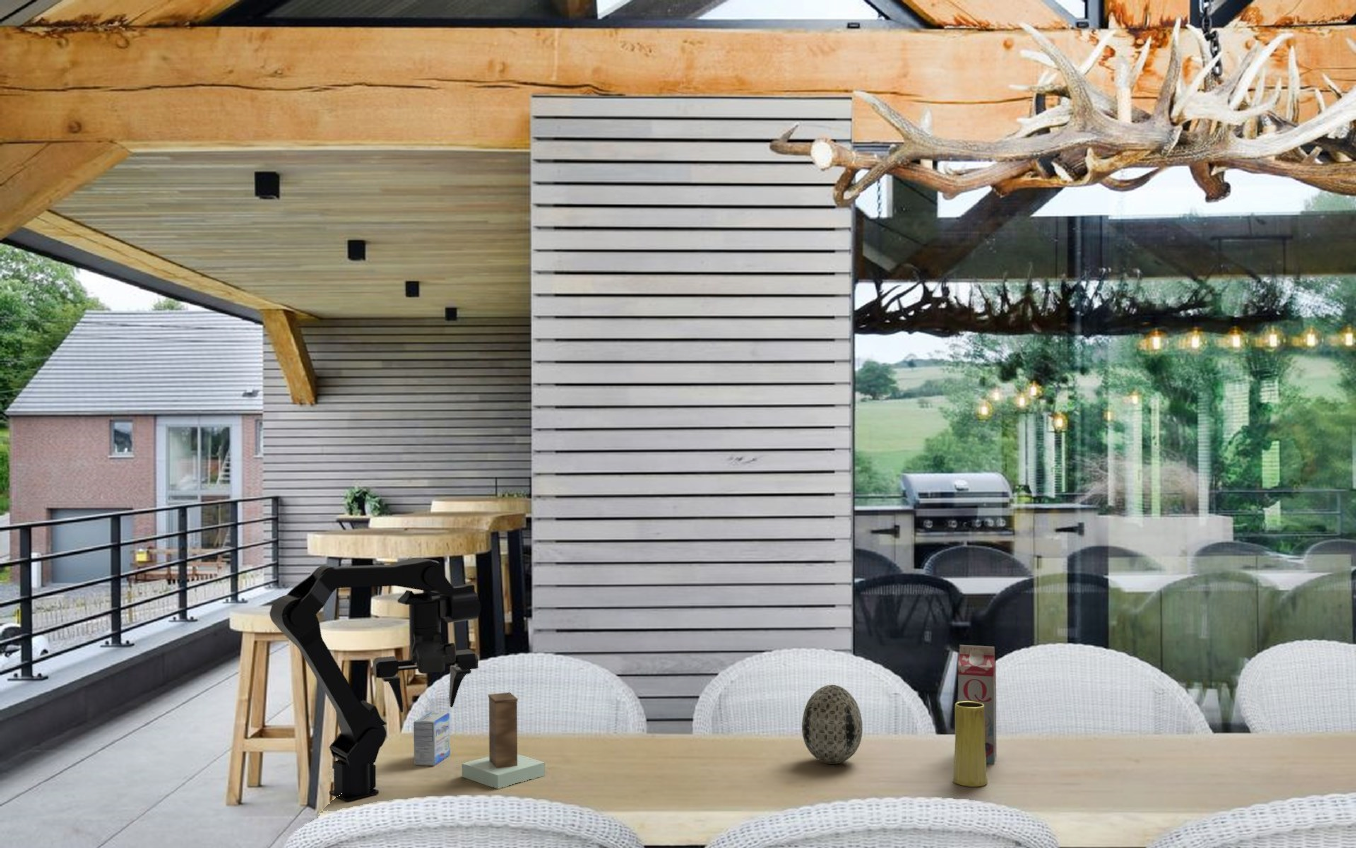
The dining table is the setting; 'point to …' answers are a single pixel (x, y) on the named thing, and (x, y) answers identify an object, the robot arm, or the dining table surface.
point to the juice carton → (980, 688)
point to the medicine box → (432, 738)
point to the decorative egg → (832, 725)
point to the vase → (969, 744)
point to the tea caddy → (503, 730)
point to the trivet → (503, 771)
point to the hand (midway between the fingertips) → (426, 709)
